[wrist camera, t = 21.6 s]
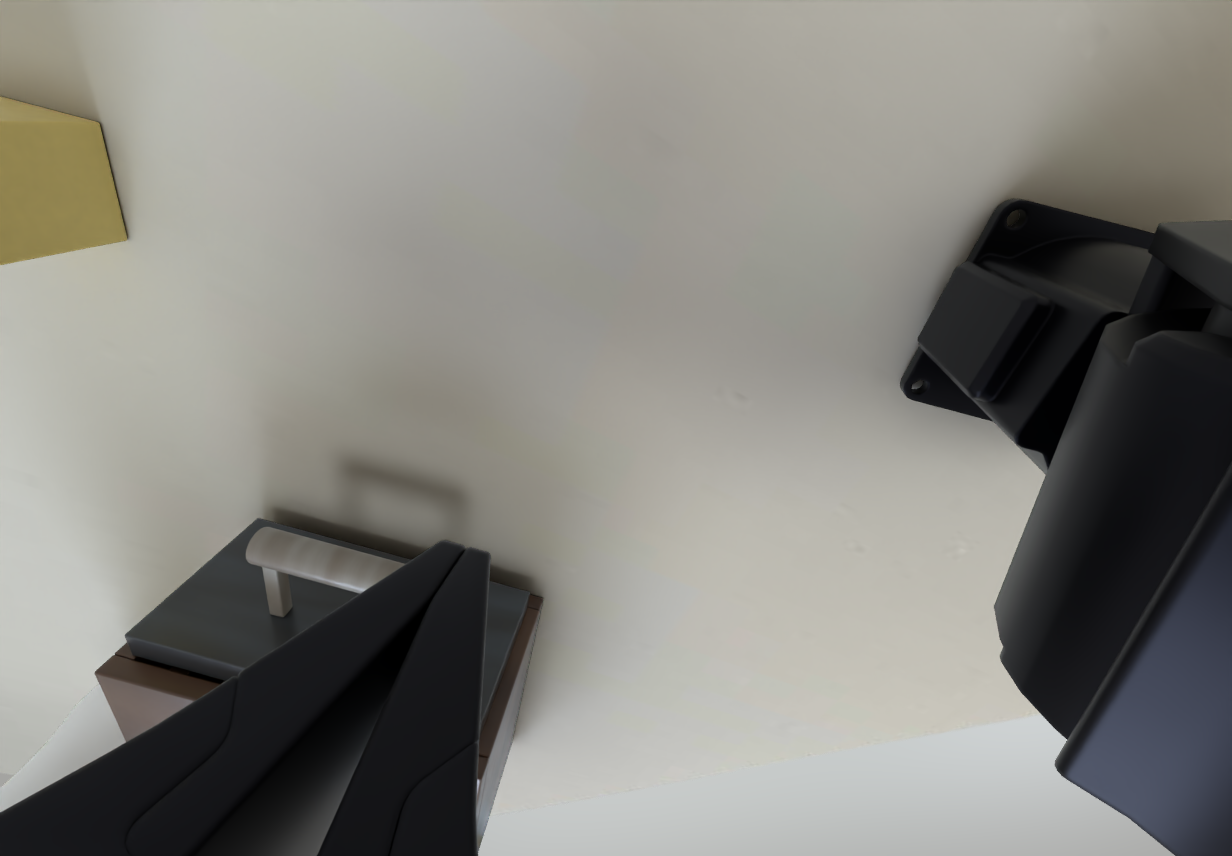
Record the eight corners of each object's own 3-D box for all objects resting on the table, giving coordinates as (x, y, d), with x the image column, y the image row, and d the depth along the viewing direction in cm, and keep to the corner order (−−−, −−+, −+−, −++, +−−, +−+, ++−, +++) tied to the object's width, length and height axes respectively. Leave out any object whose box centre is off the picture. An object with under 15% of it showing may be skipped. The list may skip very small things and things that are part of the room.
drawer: (245, 444, 23) (91, 552, 17) (543, 525, 23) (488, 661, 17) (283, 676, 32) (188, 800, 26) (501, 736, 31) (455, 875, 26)
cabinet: (262, 520, 27) (92, 672, 19) (543, 597, 27) (481, 780, 19) (287, 682, 34) (169, 840, 26) (511, 744, 33) (456, 921, 26)
